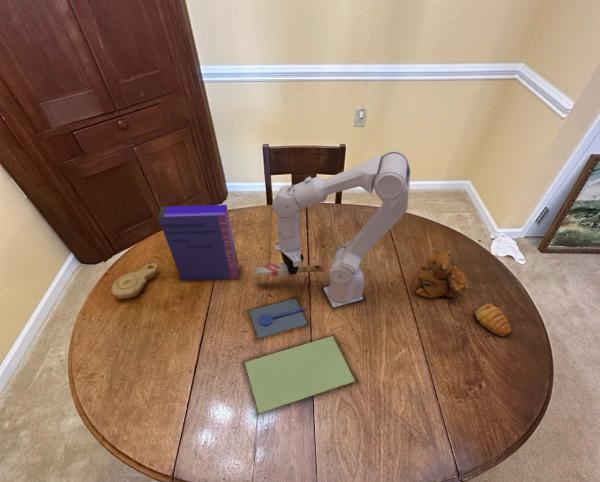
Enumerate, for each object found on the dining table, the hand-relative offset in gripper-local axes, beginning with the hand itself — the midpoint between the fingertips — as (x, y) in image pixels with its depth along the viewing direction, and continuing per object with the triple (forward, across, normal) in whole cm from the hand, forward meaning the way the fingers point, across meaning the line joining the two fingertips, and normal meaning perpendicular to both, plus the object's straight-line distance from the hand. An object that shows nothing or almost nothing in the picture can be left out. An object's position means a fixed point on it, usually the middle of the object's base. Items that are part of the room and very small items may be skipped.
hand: (290, 268), depth 101 cm
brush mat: (+7, +29, -7) cm, 30 cm away
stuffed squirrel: (+8, +16, +41) cm, 45 cm away
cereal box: (+8, -13, -23) cm, 27 cm away
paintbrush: (+2, 0, 0) cm, 2 cm away
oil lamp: (+7, -15, -45) cm, 48 cm away
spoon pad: (+7, +11, -7) cm, 15 cm away
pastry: (+8, +31, +48) cm, 58 cm away
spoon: (+7, +11, -6) cm, 14 cm away
